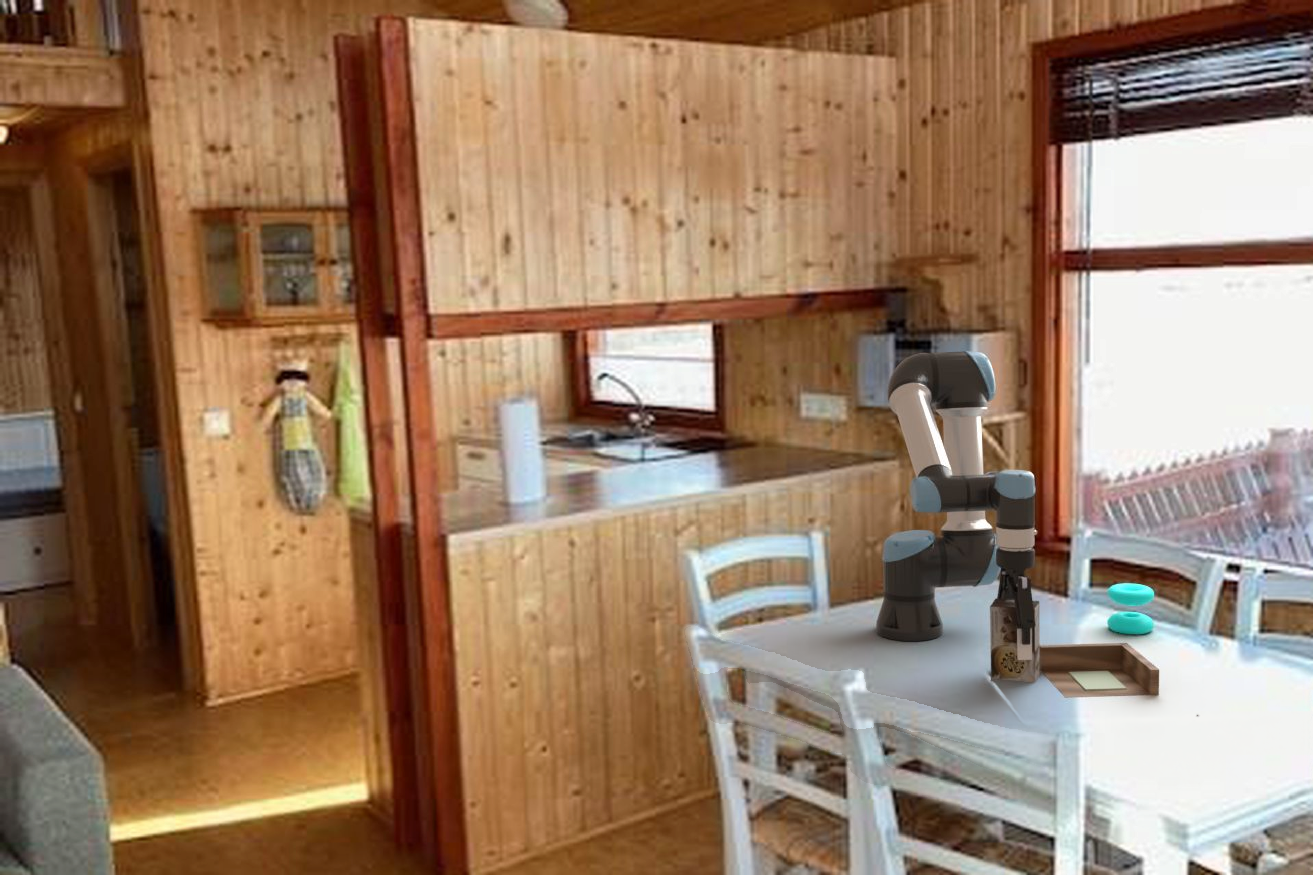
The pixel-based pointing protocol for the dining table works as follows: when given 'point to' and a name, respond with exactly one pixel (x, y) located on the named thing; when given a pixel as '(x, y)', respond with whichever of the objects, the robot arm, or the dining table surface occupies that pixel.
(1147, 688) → the wooden corner tray
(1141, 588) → the donuts
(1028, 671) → the coffee box
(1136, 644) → the dining table surface
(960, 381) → the robot arm
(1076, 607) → the dining table surface
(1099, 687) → the pad
